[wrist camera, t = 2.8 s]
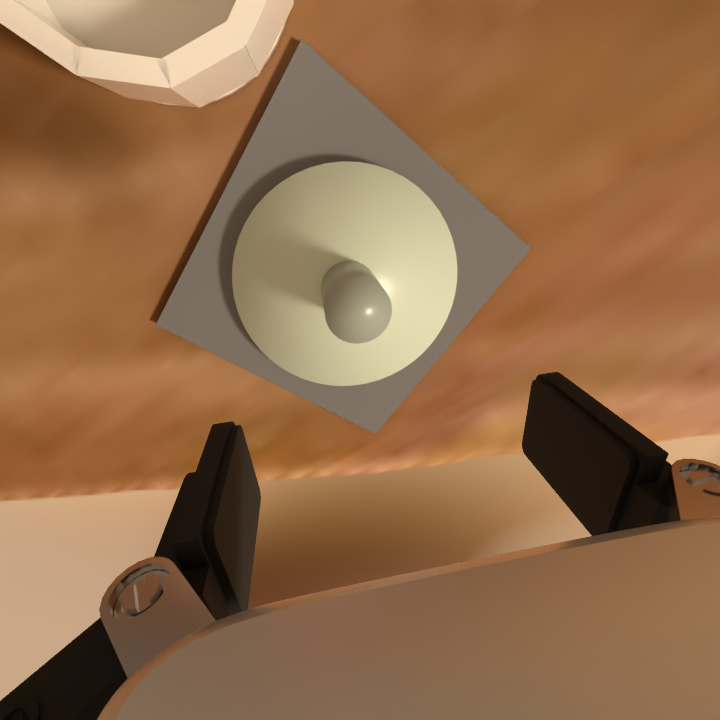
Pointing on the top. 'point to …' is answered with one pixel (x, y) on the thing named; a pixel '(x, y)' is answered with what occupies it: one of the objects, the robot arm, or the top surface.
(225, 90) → the bowl
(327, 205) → the lid
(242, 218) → the mat
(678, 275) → the top surface
